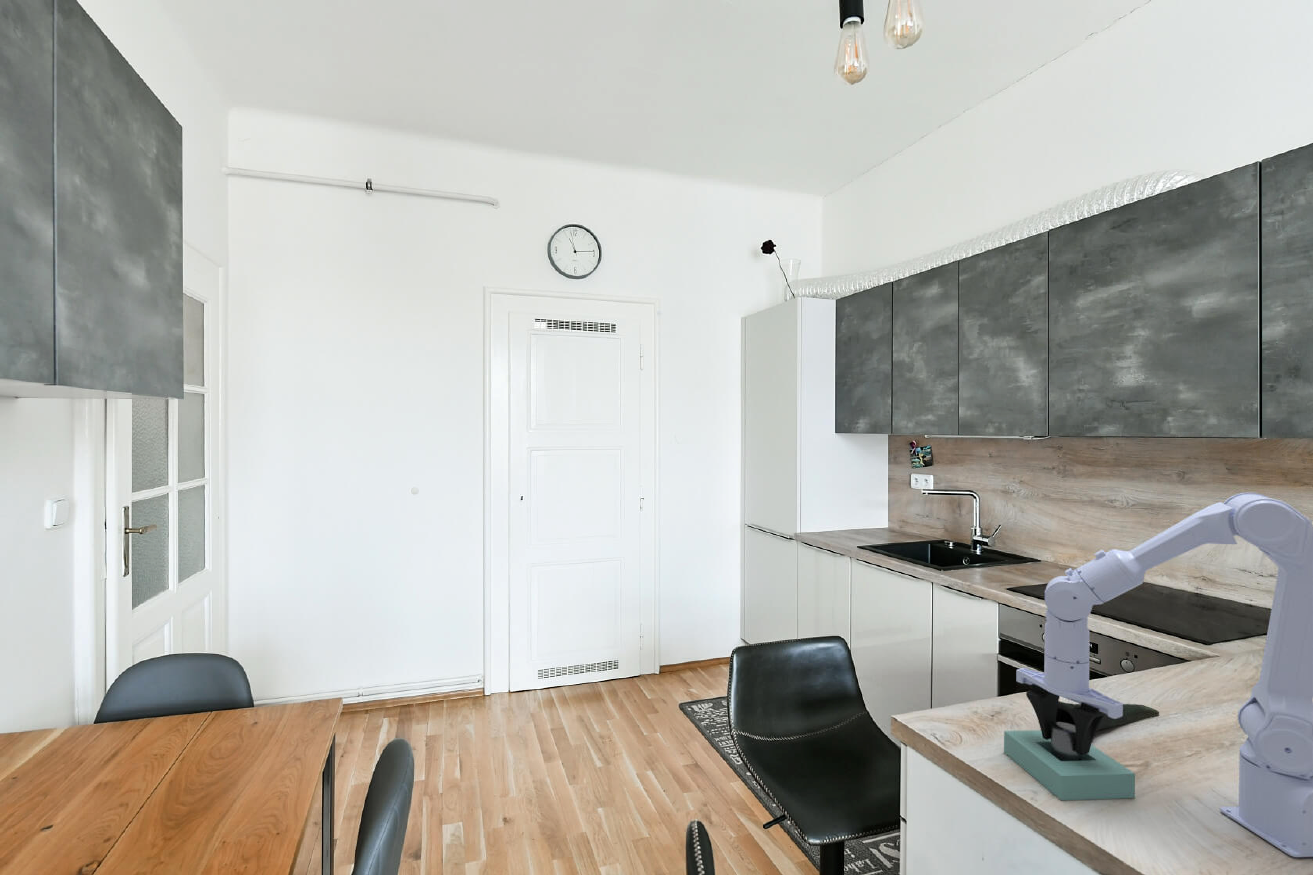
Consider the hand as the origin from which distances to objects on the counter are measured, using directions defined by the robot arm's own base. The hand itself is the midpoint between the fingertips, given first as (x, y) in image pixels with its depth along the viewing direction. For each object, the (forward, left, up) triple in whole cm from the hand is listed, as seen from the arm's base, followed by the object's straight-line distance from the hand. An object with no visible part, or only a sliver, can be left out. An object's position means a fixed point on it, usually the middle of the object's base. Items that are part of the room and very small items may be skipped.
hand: (1065, 744), depth 94 cm
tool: (+15, -18, -5) cm, 24 cm away
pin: (0, 0, -4) cm, 5 cm away
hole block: (0, 0, -4) cm, 4 cm away
